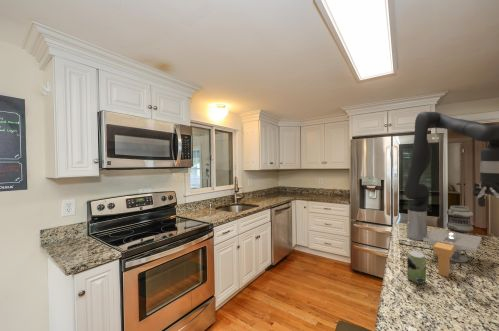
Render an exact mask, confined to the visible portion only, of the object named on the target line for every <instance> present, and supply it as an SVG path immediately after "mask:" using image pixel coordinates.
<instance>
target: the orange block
mask: <svg viewBox="0 0 499 331" xmlns="http://www.w3.org/2000/svg"><path fill="white" fill-rule="evenodd" d="M432 250H433V252H432V253H433V254H434V255H437V274H438V275H439V276H442V277H449V275H450V274H451V272H450V271H451V270H450V268H451V267H450V266H451V265H450V264H451V263H450V262H451V261H450V257H452V255H453V254H454V245H449V244H444V243H439V242H437V243H434V245H433V248H432Z"/></svg>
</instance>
